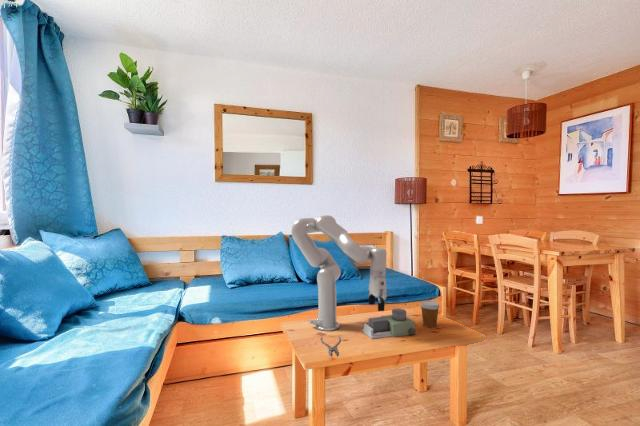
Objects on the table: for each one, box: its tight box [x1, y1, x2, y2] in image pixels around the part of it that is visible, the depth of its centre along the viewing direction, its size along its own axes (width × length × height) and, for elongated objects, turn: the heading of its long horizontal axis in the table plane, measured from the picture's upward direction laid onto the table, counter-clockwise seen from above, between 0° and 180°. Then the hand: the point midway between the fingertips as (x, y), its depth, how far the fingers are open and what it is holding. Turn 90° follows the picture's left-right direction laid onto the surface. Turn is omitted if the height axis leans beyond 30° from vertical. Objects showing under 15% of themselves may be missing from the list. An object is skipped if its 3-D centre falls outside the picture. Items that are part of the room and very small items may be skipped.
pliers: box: [320, 336, 342, 357], centre depth 135 cm, size 10×1×20 cm
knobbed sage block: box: [362, 308, 416, 340], centre depth 149 cm, size 23×14×10 cm, turn 107°
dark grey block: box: [368, 316, 388, 333], centre depth 148 cm, size 8×5×6 cm, turn 107°
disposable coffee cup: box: [420, 300, 440, 329], centre depth 158 cm, size 10×10×12 cm
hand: (376, 307), depth 148 cm, fingers open, 9 cm apart
